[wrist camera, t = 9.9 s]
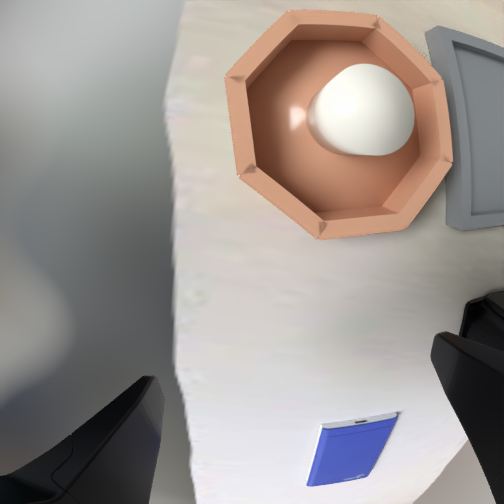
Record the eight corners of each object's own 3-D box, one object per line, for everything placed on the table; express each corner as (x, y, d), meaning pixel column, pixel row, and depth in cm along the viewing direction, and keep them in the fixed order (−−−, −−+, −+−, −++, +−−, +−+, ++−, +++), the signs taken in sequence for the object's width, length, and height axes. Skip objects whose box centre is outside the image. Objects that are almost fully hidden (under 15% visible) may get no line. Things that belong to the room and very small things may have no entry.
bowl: (425, 213, 19) (453, 224, 16) (246, 233, 19) (246, 248, 16) (405, 40, 15) (430, 25, 12) (221, 38, 16) (216, 16, 12)
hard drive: (368, 477, 28) (399, 418, 24) (306, 487, 28) (322, 431, 24) (366, 468, 29) (394, 408, 26) (305, 477, 29) (319, 419, 26)
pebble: (378, 152, 17) (419, 154, 12) (311, 157, 17) (334, 158, 12) (369, 85, 16) (406, 66, 11) (301, 86, 16) (320, 63, 11)
